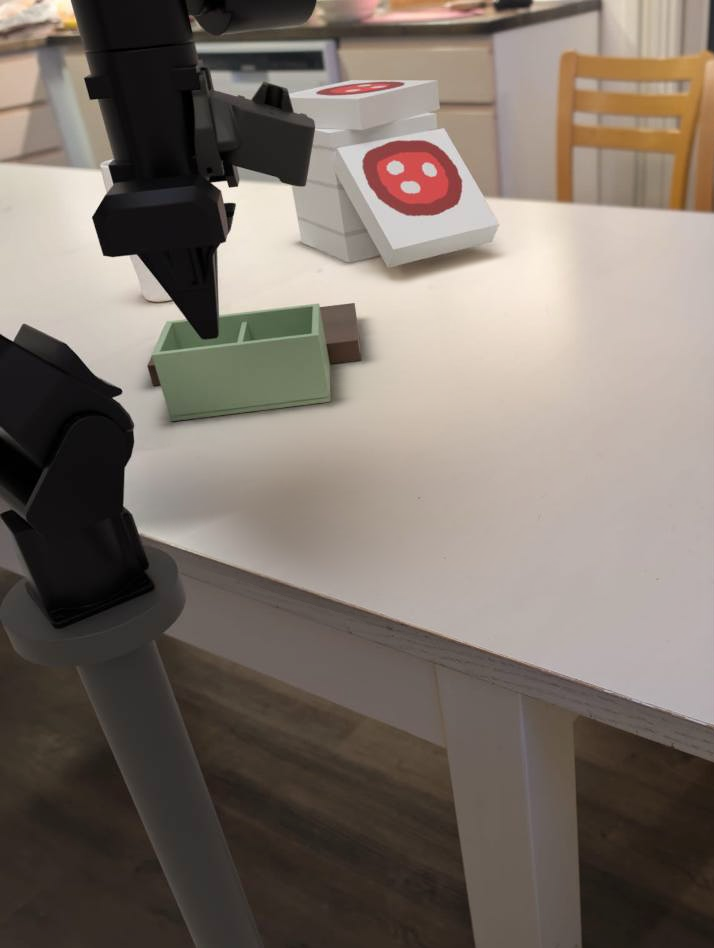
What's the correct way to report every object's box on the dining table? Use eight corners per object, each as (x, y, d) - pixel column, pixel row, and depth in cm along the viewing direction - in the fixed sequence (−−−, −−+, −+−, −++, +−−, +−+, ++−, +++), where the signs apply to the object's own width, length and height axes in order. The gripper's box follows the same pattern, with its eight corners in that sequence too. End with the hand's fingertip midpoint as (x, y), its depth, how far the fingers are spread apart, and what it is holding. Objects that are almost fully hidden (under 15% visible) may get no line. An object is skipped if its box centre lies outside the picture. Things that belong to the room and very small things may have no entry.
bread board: (361, 360, 91) (358, 339, 89) (153, 386, 89) (146, 365, 88) (357, 321, 100) (354, 302, 99) (169, 344, 99) (164, 325, 98)
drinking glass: (171, 285, 117) (135, 153, 109) (206, 291, 114) (172, 155, 105) (126, 301, 113) (86, 165, 104) (162, 308, 110) (123, 167, 101)
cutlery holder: (330, 401, 83) (318, 334, 79) (171, 421, 82) (151, 354, 78) (330, 366, 90) (319, 303, 86) (183, 384, 89) (166, 321, 86)
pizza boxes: (383, 287, 110) (359, 113, 99) (283, 242, 131) (254, 94, 120) (517, 252, 117) (509, 87, 107) (402, 215, 138) (385, 74, 127)
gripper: (292, 43, 43) (345, 372, 52) (291, 23, 58) (332, 282, 67) (44, 67, 42) (143, 398, 51) (108, 40, 57) (175, 301, 66)
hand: (210, 337), depth 59 cm, fingers closed
